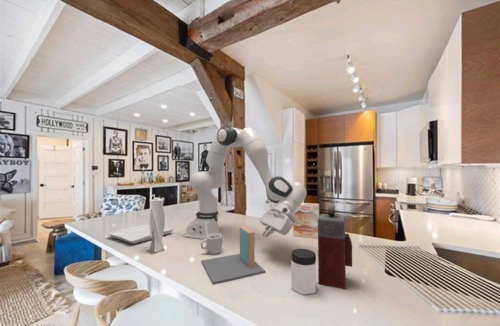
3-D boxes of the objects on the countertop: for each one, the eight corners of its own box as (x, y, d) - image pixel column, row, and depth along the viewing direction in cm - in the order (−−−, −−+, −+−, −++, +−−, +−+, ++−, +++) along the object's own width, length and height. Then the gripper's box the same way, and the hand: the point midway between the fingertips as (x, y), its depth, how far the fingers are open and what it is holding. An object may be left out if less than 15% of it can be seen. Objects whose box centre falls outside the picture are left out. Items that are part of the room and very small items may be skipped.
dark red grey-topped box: (353, 291, 73) (352, 207, 74) (318, 284, 77) (317, 205, 78) (352, 278, 81) (351, 203, 82) (320, 272, 86) (319, 201, 86)
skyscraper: (144, 250, 110) (145, 195, 111) (160, 246, 116) (160, 193, 116) (151, 255, 104) (152, 196, 105) (167, 250, 110) (168, 194, 111)
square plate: (174, 234, 137) (174, 228, 137) (131, 248, 114) (131, 240, 114) (149, 228, 151) (149, 222, 151) (106, 239, 128) (106, 232, 128)
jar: (296, 296, 70) (296, 258, 70) (286, 283, 78) (286, 249, 78) (321, 292, 72) (321, 256, 72) (309, 280, 80) (309, 247, 80)
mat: (201, 262, 95) (201, 260, 95) (245, 254, 104) (245, 252, 104) (213, 284, 77) (212, 282, 77) (265, 272, 86) (265, 270, 86)
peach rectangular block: (239, 258, 97) (239, 226, 98) (245, 257, 98) (245, 226, 99) (248, 267, 88) (248, 233, 89) (254, 266, 89) (254, 232, 90)
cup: (203, 257, 100) (203, 240, 100) (198, 251, 107) (198, 235, 107) (225, 253, 105) (225, 236, 105) (219, 248, 112) (219, 232, 112)
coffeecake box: (293, 236, 132) (292, 203, 132) (294, 232, 138) (294, 202, 139) (319, 239, 126) (318, 205, 127) (319, 235, 133) (319, 203, 134)
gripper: (267, 204, 110) (250, 225, 106) (291, 211, 91) (271, 238, 87) (275, 212, 112) (258, 234, 107) (300, 220, 93) (280, 247, 89)
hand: (264, 235), depth 97 cm, fingers closed
